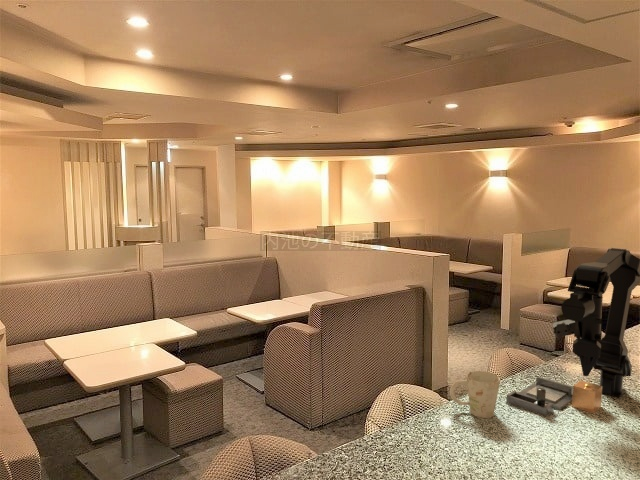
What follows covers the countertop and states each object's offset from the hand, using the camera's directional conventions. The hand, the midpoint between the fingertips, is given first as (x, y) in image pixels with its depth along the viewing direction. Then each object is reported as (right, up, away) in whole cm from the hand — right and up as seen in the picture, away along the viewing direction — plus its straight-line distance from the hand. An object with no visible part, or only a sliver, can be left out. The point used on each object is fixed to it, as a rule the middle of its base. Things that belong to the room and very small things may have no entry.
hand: (586, 369), depth 133 cm
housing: (+2, -11, +3) cm, 12 cm away
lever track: (-14, -11, +3) cm, 18 cm away
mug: (-30, -12, 0) cm, 32 cm away
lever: (-12, -10, +1) cm, 16 cm away
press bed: (-6, -10, +9) cm, 15 cm away
